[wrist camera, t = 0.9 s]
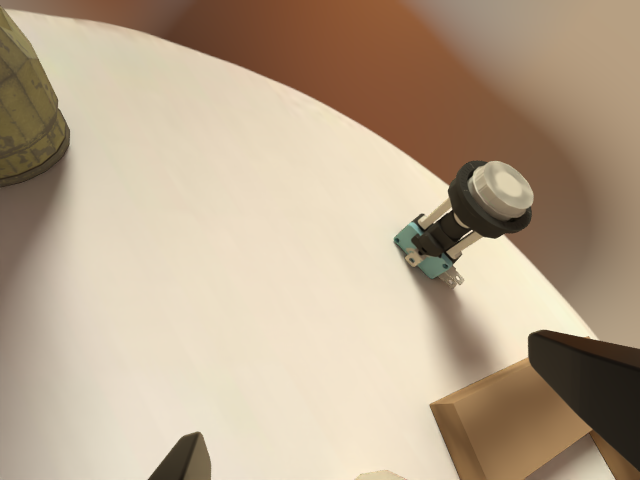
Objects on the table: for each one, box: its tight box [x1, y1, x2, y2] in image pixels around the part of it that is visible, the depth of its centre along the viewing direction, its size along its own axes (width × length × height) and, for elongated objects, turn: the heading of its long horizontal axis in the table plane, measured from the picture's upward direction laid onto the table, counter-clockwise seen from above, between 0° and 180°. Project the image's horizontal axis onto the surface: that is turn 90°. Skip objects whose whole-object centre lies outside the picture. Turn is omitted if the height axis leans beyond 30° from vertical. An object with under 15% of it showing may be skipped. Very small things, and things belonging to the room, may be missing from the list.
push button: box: [394, 161, 533, 289], centre depth 23 cm, size 7×5×10 cm
